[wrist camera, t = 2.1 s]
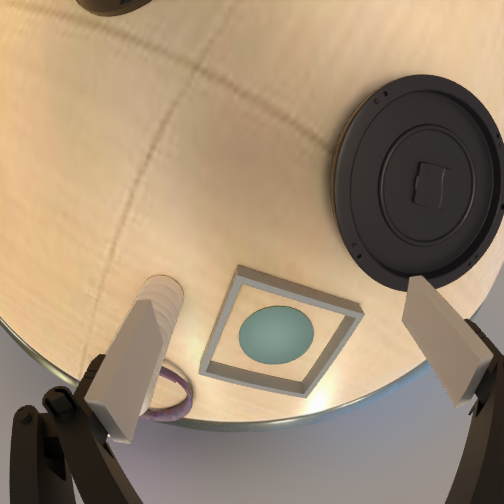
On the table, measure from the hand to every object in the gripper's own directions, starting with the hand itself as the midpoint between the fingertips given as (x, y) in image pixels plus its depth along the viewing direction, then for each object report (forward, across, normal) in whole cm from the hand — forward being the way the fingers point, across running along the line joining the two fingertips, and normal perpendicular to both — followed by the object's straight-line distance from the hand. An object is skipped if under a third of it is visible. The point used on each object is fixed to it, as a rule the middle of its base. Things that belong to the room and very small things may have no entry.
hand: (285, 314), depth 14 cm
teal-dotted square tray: (+26, +1, -23) cm, 35 cm away
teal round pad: (+26, +1, -23) cm, 35 cm away
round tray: (+26, +23, +1) cm, 35 cm away
